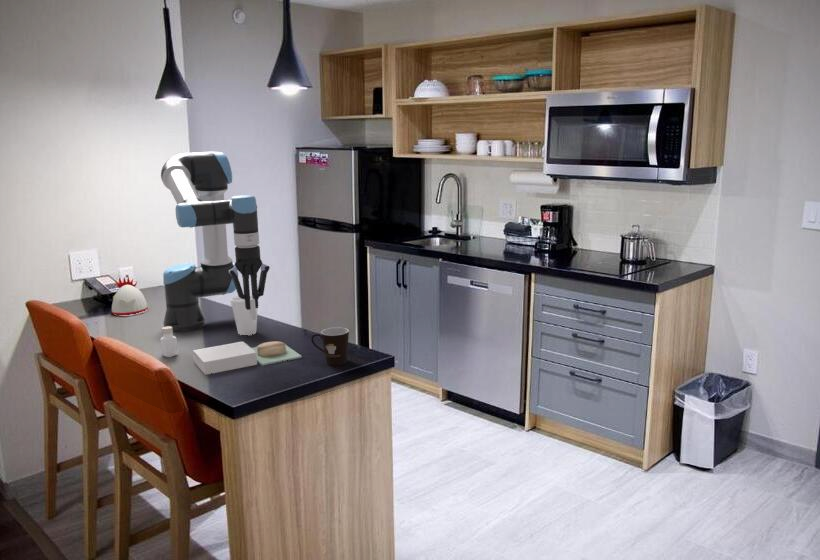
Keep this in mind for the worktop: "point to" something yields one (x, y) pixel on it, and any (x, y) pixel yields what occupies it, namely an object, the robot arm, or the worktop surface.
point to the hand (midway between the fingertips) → (252, 318)
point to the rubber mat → (286, 356)
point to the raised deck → (224, 357)
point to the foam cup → (243, 317)
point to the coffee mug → (334, 345)
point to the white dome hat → (128, 299)
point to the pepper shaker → (168, 342)
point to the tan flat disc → (271, 349)
